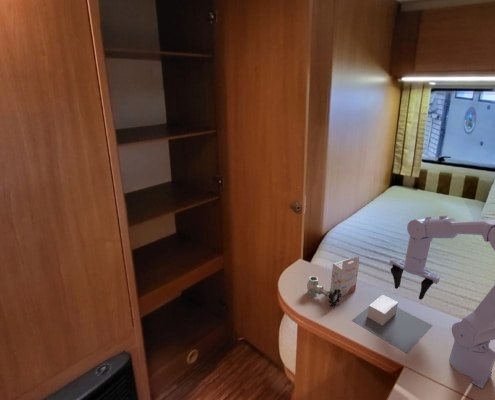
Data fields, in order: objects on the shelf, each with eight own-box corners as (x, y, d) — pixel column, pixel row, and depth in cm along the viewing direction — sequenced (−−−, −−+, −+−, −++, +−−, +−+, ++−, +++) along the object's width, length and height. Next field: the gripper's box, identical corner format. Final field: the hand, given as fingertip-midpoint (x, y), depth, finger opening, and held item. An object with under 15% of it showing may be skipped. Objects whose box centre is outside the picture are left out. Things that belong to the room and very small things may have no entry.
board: (432, 327, 105) (434, 318, 103) (406, 356, 93) (408, 346, 92) (379, 300, 117) (380, 292, 116) (351, 322, 106) (352, 313, 105)
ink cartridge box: (345, 284, 127) (350, 250, 122) (355, 291, 123) (360, 256, 118) (329, 290, 123) (333, 255, 118) (338, 297, 119) (343, 262, 114)
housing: (380, 305, 113) (382, 294, 112) (395, 313, 109) (398, 302, 108) (367, 316, 108) (368, 305, 106) (382, 325, 104) (384, 313, 102)
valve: (302, 295, 120) (330, 310, 112) (303, 279, 118) (332, 294, 110) (312, 287, 124) (340, 302, 116) (314, 272, 122) (342, 286, 114)
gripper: (447, 260, 98) (437, 298, 103) (399, 243, 108) (392, 278, 113) (438, 268, 94) (428, 307, 98) (389, 249, 104) (382, 286, 109)
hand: (408, 292), depth 105 cm, fingers open, 7 cm apart
